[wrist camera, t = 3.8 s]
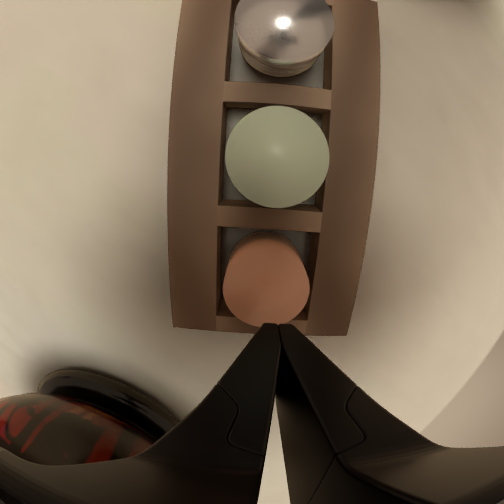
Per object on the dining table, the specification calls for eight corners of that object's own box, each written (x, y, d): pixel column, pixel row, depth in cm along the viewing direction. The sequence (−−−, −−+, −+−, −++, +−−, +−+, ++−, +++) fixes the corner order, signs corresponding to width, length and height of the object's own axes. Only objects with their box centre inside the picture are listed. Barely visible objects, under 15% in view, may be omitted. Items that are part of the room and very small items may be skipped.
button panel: (365, 15, 12) (377, 2, 10) (338, 318, 18) (346, 335, 16) (192, 0, 12) (185, -15, 10) (180, 309, 18) (173, 326, 16)
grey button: (320, 15, 11) (333, -11, 8) (319, 81, 12) (334, 65, 10) (241, 8, 11) (238, -20, 8) (236, 74, 12) (231, 56, 10)
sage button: (317, 119, 13) (332, 111, 10) (311, 199, 14) (324, 211, 12) (234, 113, 13) (228, 103, 10) (229, 194, 14) (222, 205, 12)
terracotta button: (305, 233, 16) (314, 252, 13) (296, 300, 17) (303, 328, 14) (229, 229, 16) (223, 246, 13) (227, 296, 17) (222, 324, 14)
